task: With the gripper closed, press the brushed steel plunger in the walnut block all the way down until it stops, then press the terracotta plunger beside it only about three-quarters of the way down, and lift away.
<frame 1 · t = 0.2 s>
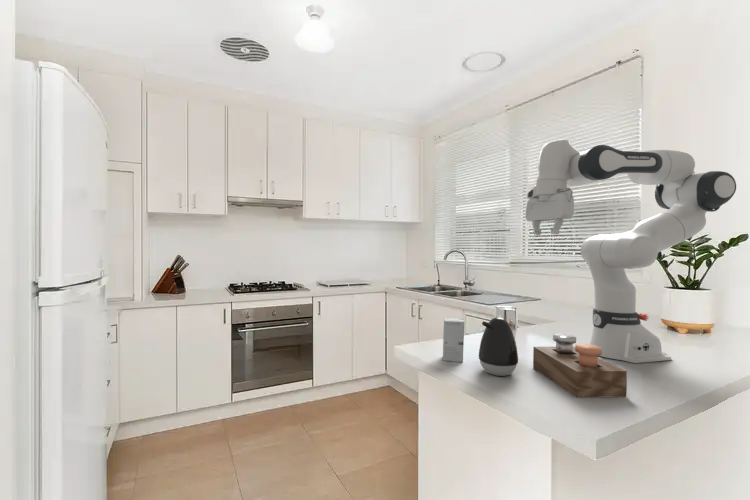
hand: (545, 234, 114), 38 cm above the countertop, tool pointing down, fingers open, 8 cm apart
steel plunger: (564, 345, 98), point 8 cm above the countertop, slide at 0.0 cm
skincare box: (453, 359, 109), on the countertop
terracotta plunger: (588, 357, 88), point 8 cm above the countertop, slide at 0.0 cm
beer glass: (505, 355, 114), on the countertop
walnut block: (574, 380, 93), on the countertop
pump dispenser: (497, 373, 98), on the countertop
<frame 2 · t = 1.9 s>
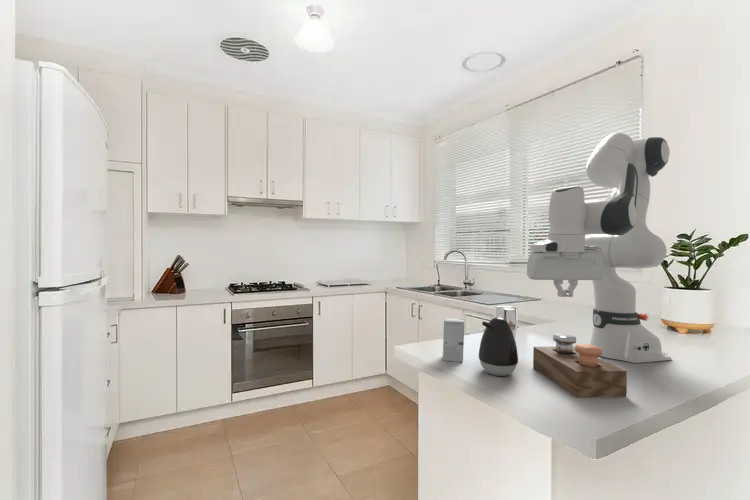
hand: (565, 296, 98), 21 cm above the countertop, tool pointing down, fingers closed
nothing on the countertop moved.
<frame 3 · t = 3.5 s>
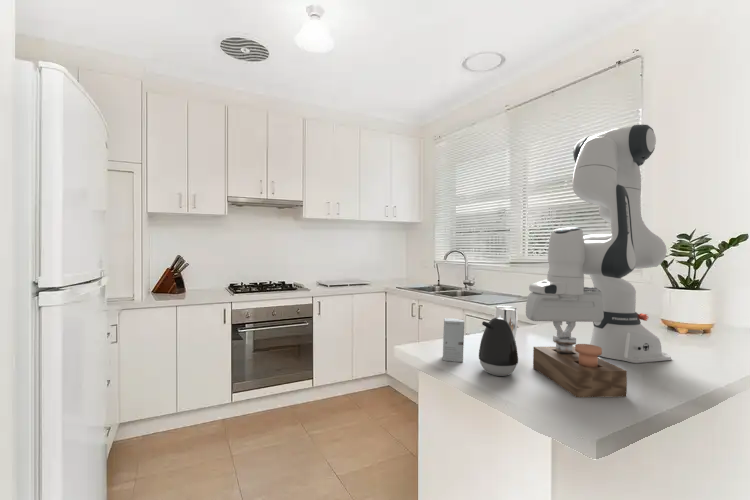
hand: (563, 337, 98), 10 cm above the countertop, tool pointing down, fingers closed
steel plunger: (564, 346, 98), point 7 cm above the countertop, slide at 0.3 cm, touching gripper
everything else where it was.
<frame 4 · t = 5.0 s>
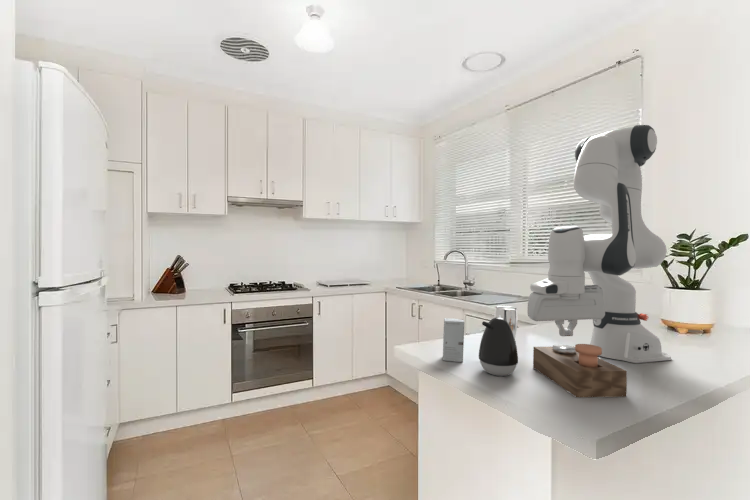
hand: (566, 335, 98), 10 cm above the countertop, tool pointing down, fingers closed
steel plunger: (564, 356, 98), point 5 cm above the countertop, slide at 3.0 cm, touching walnut block
everything else where it was.
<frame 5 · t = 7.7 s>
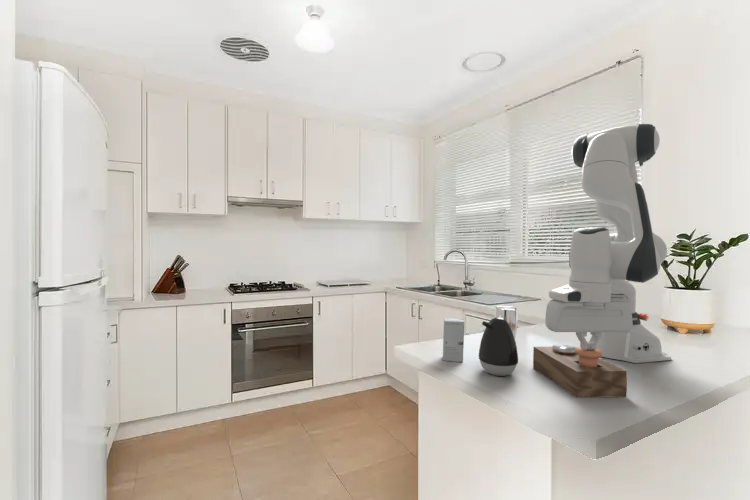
hand: (588, 349, 88), 10 cm above the countertop, tool pointing down, fingers closed, pressing on terracotta plunger
terracotta plunger: (588, 360, 88), point 7 cm above the countertop, slide at 0.7 cm, touching gripper
everything else where it was.
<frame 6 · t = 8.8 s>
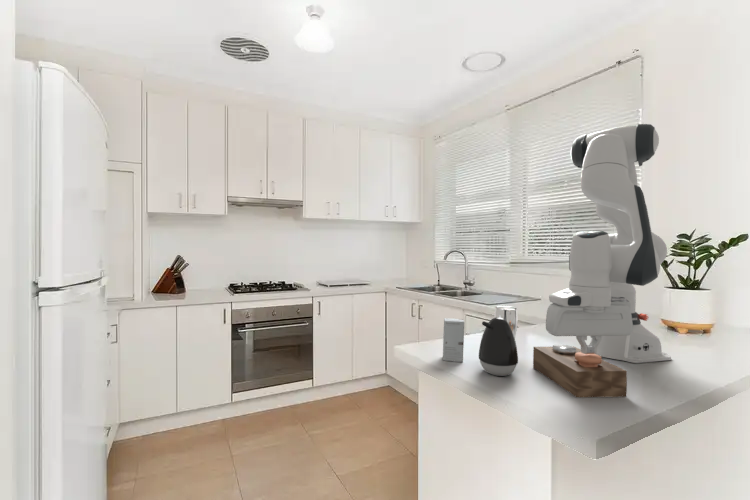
hand: (588, 353, 88), 9 cm above the countertop, tool pointing down, fingers closed
terracotta plunger: (587, 365, 88), point 6 cm above the countertop, slide at 2.1 cm
everything else where it was.
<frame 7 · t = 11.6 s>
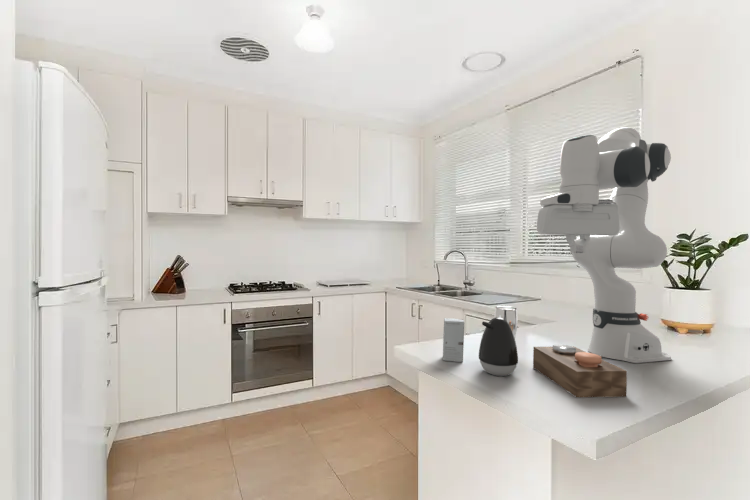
hand: (577, 252, 92), 33 cm above the countertop, tool pointing down, fingers closed
nothing on the countertop moved.
at the end: steel plunger slide at 3.0 cm; terracotta plunger slide at 2.1 cm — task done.
